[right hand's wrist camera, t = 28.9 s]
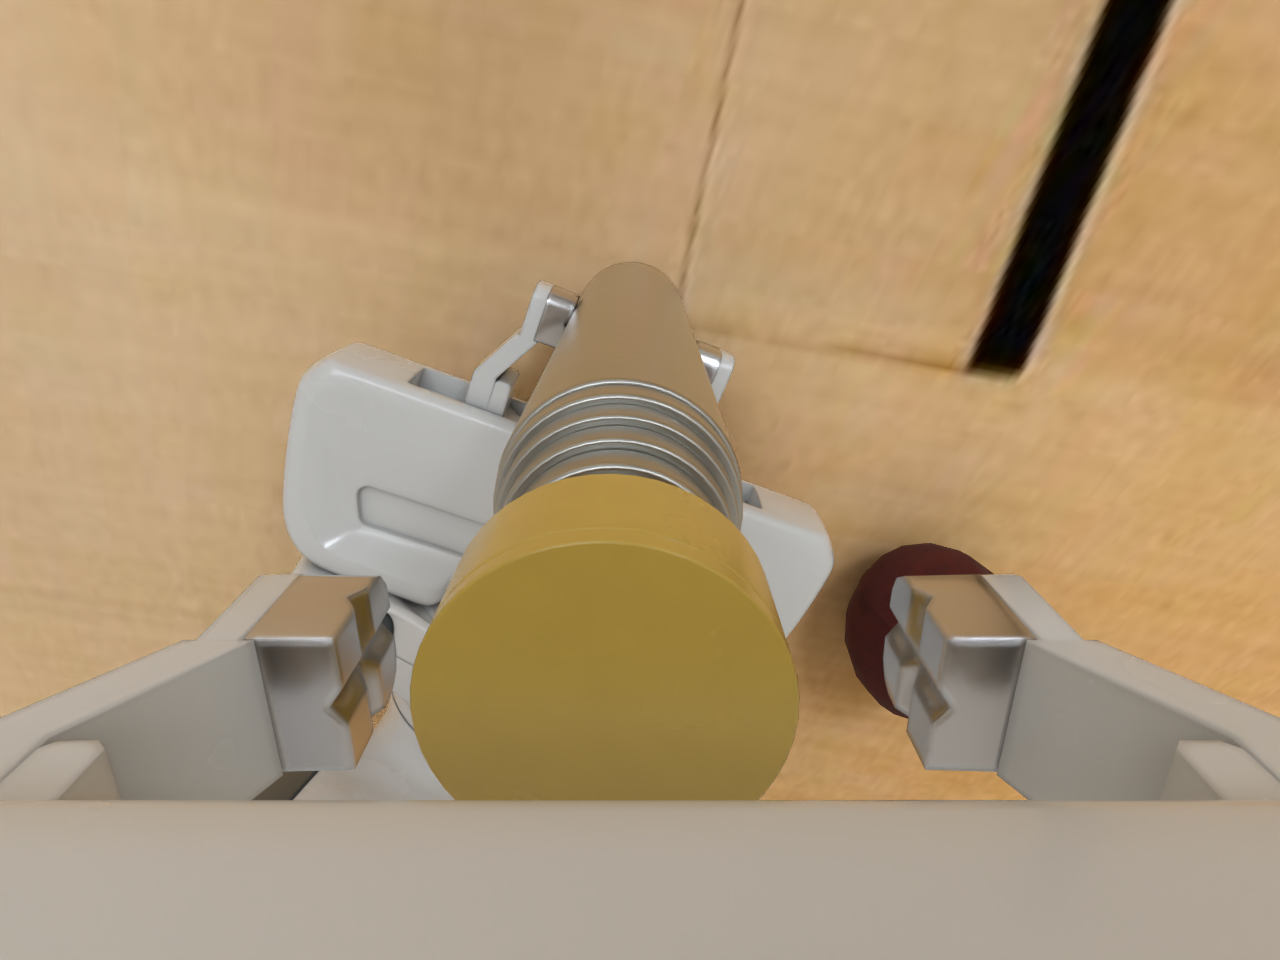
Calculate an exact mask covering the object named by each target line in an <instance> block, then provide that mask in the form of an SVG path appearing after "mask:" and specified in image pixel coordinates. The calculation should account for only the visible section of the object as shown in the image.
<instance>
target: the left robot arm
mask: <svg viewBox="0 0 1280 960" xmlns="http://www.w3.org/2000/svg"><path fill="white" fill-rule="evenodd" d="M579 297H580V295H578V294H576V293H573V292H571V291H568V290H566V289H563V288H561V287H558V286H556V285H554V284H551V283H548V282H545V281H543V280H541V281H540V282H539V283H538V284H537V286H536V289H535V291H534V293H533V296H532V299H531V302H530V305H529V308H528V311H527V314H526V317H525V320H524V323H523V326H522V327H521V328H519V329H518V330H517V331H516V332H515V333H514V334H513V335H511V336H510V337H509V338H508V339H507V340H506V341H504V342H503V343H502V344H501V345H500V346H499V347H498V348H496V349H495V350H494V351H493V352H492V353H491V354H489V355H488V356H487V357H486V358H485V359H484V360H483V361H482V362H481V364H480V365H479V366H478V367H477V368H476V369H475V370H474V373H473V376H472V379H471V381H468V380H465V379H462V378H459V377H457V376H454V375H451V374H448V373H446V372H443V371H440V370H437V369H434V368H432V367H429V366H426V365H423V364H421V363H418V362H415V361H412V360H409V359H407V358H404V357H401V356H398V355H396V354H393V353H390V352H387V351H384V350H382V349H379V348H376V347H374V346H371V345H368V344H365V343H352V344H349V345H347V346H345V347H343V348H340V349H338V350H336V351H334V352H332V353H330V354H328V355H326V356H324V357H323V358H322V359H320V360H319V361H317V362H316V363H314V364H313V365H312V366H311V367H310V368H308V369H307V371H306V372H305V373H304V375H303V376H302V378H301V380H300V382H299V384H298V387H297V391H296V395H295V399H294V404H293V409H292V414H291V420H290V426H289V433H288V440H287V448H286V457H285V468H284V484H283V514H284V521H285V525H286V528H287V531H288V534H289V536H290V538H291V540H292V542H293V544H294V545H295V547H296V548H297V549H298V551H299V552H300V553H301V554H302V555H303V556H302V558H301V559H300V560H299V562H298V563H297V565H296V566H295V568H294V570H293V572H292V573H291V574H303V575H360V576H381V577H382V579H383V580H384V581H385V583H386V584H387V590H388V596H389V602H390V608H389V610H388V612H387V613H386V615H385V617H384V619H383V620H382V623H383V624H384V625H385V627H386V628H387V629H388V630H389V631H390V632H391V633H392V634H393V635H394V636H395V644H396V652H397V666H396V676H395V681H394V686H393V691H392V694H391V696H390V700H389V704H388V707H387V710H386V712H385V714H384V715H383V717H382V719H381V720H380V722H379V723H378V724H377V725H376V727H375V728H374V729H373V730H374V732H373V734H372V736H371V738H370V740H369V742H368V744H367V746H366V748H365V750H364V752H363V754H362V756H361V758H360V760H359V762H358V764H357V766H356V768H355V770H325V771H289V772H283V776H281V777H280V778H279V779H278V780H276V781H275V782H274V783H273V784H271V785H270V786H269V787H268V788H266V789H265V790H264V791H262V792H261V793H260V794H259V795H257V796H256V797H255V798H254V799H252V800H454V799H453V797H452V796H451V795H450V794H449V793H448V792H447V791H446V790H445V789H444V788H443V786H442V785H441V784H440V782H439V781H438V779H437V778H436V777H435V775H434V774H433V772H432V771H431V769H430V767H429V766H428V764H427V762H426V760H425V758H424V756H423V754H422V752H421V750H420V747H419V744H418V741H417V738H416V735H415V732H414V727H413V722H412V716H411V711H410V684H411V677H412V669H413V665H414V662H415V659H416V655H417V652H418V649H419V646H420V644H421V642H422V640H423V638H424V636H425V634H426V632H427V629H428V627H429V625H430V623H431V621H432V619H433V617H434V615H435V612H436V610H437V608H438V606H439V604H440V602H441V600H442V598H443V596H444V593H445V591H446V589H447V587H448V585H449V583H450V581H451V579H452V577H453V574H454V572H455V570H456V568H457V566H458V564H459V562H460V560H461V558H462V556H463V554H464V552H465V550H466V548H467V547H468V545H469V544H470V542H471V541H472V539H473V538H474V537H475V535H476V534H477V532H478V531H479V530H480V529H481V528H482V527H483V526H484V525H485V524H486V523H487V522H488V520H489V519H490V518H491V517H492V516H494V514H493V495H494V490H495V484H496V478H497V472H498V467H499V463H500V460H501V457H502V454H503V451H504V449H505V447H506V445H507V443H508V441H509V439H510V437H511V435H512V433H513V431H514V429H515V427H516V425H517V423H518V421H519V419H520V417H521V415H522V413H523V411H524V409H525V407H526V405H527V403H528V402H526V401H523V400H520V399H518V398H515V397H513V394H514V391H515V388H516V385H517V381H518V378H519V375H520V374H519V372H518V370H515V369H513V368H510V366H511V365H512V364H513V363H515V362H516V361H517V360H518V359H519V358H520V357H521V356H523V355H524V354H525V353H526V352H527V351H528V350H530V349H531V348H532V347H533V346H534V345H535V344H536V343H537V342H540V343H543V344H545V345H548V346H551V347H554V348H556V346H557V344H558V342H559V340H560V338H561V336H562V334H563V332H564V330H565V328H566V326H567V324H568V322H569V320H570V318H571V316H572V314H573V312H574V310H575V308H576V306H577V303H578V300H579ZM695 340H696V339H695ZM696 343H697V346H698V349H699V352H700V354H701V357H702V360H703V363H704V366H705V369H706V372H707V375H708V377H709V380H710V383H711V386H712V389H713V392H714V395H715V398H716V400H717V403H719V401H720V399H721V396H722V394H723V392H724V389H725V387H726V385H727V382H728V380H729V378H730V375H731V373H732V371H733V367H734V363H735V358H734V356H733V354H732V353H730V352H728V351H725V350H722V349H720V348H718V347H715V346H712V345H709V344H707V343H704V342H701V341H698V340H696ZM741 481H742V499H743V519H742V525H741V531H740V532H741V533H742V534H743V535H744V537H745V538H746V539H747V541H748V542H749V544H750V545H751V547H752V548H753V550H754V551H755V553H756V555H757V556H758V559H759V561H760V563H761V565H762V567H763V570H764V572H765V574H766V578H767V581H768V584H769V587H770V590H771V593H772V596H773V600H774V603H775V606H776V609H777V612H778V615H779V618H780V622H781V625H782V628H783V631H784V634H785V637H786V638H787V637H788V636H789V634H790V633H791V632H792V631H793V629H794V628H795V627H796V625H797V624H798V622H799V621H800V620H801V618H802V617H803V615H804V614H805V613H806V611H807V610H808V608H809V607H810V605H811V604H812V602H813V601H814V599H815V598H816V596H817V595H818V593H819V591H820V590H821V588H822V587H823V585H824V583H825V582H826V580H827V578H828V576H829V575H830V573H831V570H832V568H833V565H834V552H833V548H832V544H831V541H830V538H829V535H828V533H827V530H826V528H825V526H824V524H823V522H822V521H821V519H820V517H819V515H818V514H817V512H816V511H815V509H814V508H813V507H812V506H811V505H809V504H808V503H805V502H803V501H800V500H798V499H795V498H792V497H789V496H786V495H784V494H781V493H778V492H775V491H773V490H770V489H767V488H764V487H761V486H759V485H756V484H753V483H750V482H748V481H745V480H742V479H741Z"/></svg>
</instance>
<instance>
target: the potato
mask: <svg viewBox="0 0 1280 960" xmlns="http://www.w3.org/2000/svg"><path fill="white" fill-rule="evenodd" d="M970 574H980V575H990V574H993V573H992V572H991V571H989V570H988V569H986V568H985V567H984V566H982V565H981V564H980V563H978V562H977V561H975V560H974V559H973V558H971V557H970V556H968V555H966V554H964V553H963V552H961V551H958V550H955V549H951V548H947V547H943V546H939V545H936V544H932V543H924V544H915V545H906V546H901V547H899V548H897V549H895V550H893V551H891V552H889V553H887V554H885V555H883V556H881V557H880V558H879V559H878V560H877V561H876V562H875V563H874V564H873V565H872V566H871V567H870V568H869V569H868V570H867V571H866V573H865V574H864V575H863V576H862V578H861V580H860V582H859V584H858V586H857V588H856V590H855V592H854V594H853V596H852V598H851V600H850V602H849V605H848V609H847V613H846V628H845V643H846V646H847V649H848V652H849V655H850V658H851V661H852V664H853V667H854V670H855V673H856V676H857V677H858V679H859V680H860V681H861V683H862V684H863V685H864V686H865V688H866V689H867V690H868V691H869V693H870V694H871V695H872V696H873V697H874V698H875V699H876V700H877V702H878V703H879V704H880V705H881V706H883V707H884V708H886V709H887V710H889V711H890V712H892V713H893V714H895V715H898V716H902V717H905V718H908V716H907V715H905V714H904V713H902V712H901V711H899V710H898V709H896V708H895V707H894V705H893V703H892V700H891V698H890V696H889V694H888V690H887V686H886V682H885V677H884V664H883V655H884V646H885V636H886V635H887V634H888V633H889V632H890V631H891V630H892V629H893V628H894V627H895V625H896V624H897V623H898V620H897V619H896V617H895V615H894V613H893V612H892V610H891V608H890V601H891V594H892V589H893V586H894V584H895V581H896V578H898V577H903V576H928V575H970Z"/></svg>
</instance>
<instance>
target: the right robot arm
mask: <svg viewBox="0 0 1280 960" xmlns="http://www.w3.org/2000/svg"><path fill="white" fill-rule="evenodd" d="M389 608H390V602H389V596H388V590H387V584H386V583H385V581H384V580H383V579H382V577H381V576H360V575H303V574H271V575H260V576H258V577H257V578H256V579H255V580H254V581H253V583H252V584H251V585H250V586H249V587H248V588H247V589H246V590H245V591H244V592H243V593H242V594H241V595H240V596H239V597H238V598H237V599H236V600H235V601H234V602H233V603H232V604H231V605H230V606H229V607H228V608H227V609H226V610H225V611H224V612H223V613H222V614H221V615H220V616H219V617H218V618H217V619H216V620H215V621H214V622H213V623H212V624H211V625H210V626H209V627H208V628H207V629H206V630H205V631H204V632H203V634H202V635H201V636H200V637H199V638H198V639H197V640H182V641H180V642H178V643H175V644H173V645H171V646H168V647H166V648H163V649H161V650H159V651H156V652H154V653H152V654H149V655H147V656H145V657H142V658H140V659H138V660H135V661H133V662H130V663H128V664H126V665H123V666H121V667H119V668H116V669H114V670H112V671H109V672H107V673H105V674H102V675H100V676H97V677H95V678H93V679H90V680H88V681H86V682H83V683H81V684H79V685H76V686H74V687H72V688H69V689H67V690H64V691H62V692H60V693H57V694H55V695H53V696H50V697H48V698H46V699H43V700H41V701H38V702H36V703H34V704H31V705H29V706H27V707H24V708H22V709H20V710H17V711H15V712H13V713H10V714H8V715H5V716H3V717H1V718H0V960H1280V718H1279V717H1276V716H1274V715H1272V714H1269V713H1267V712H1265V711H1262V710H1260V709H1258V708H1255V707H1253V706H1251V705H1248V704H1246V703H1243V702H1241V701H1239V700H1236V699H1234V698H1232V697H1229V696H1227V695H1225V694H1222V693H1220V692H1218V691H1215V690H1213V689H1211V688H1208V687H1206V686H1203V685H1201V684H1199V683H1196V682H1194V681H1192V680H1189V679H1187V678H1185V677H1182V676H1180V675H1178V674H1175V673H1173V672H1171V671H1168V670H1166V669H1164V668H1161V667H1159V666H1156V665H1154V664H1152V663H1149V662H1147V661H1145V660H1142V659H1140V658H1138V657H1135V656H1133V655H1131V654H1128V653H1126V652H1124V651H1121V650H1119V649H1117V648H1114V647H1112V646H1109V645H1107V644H1105V643H1102V642H1100V641H1098V640H1083V639H1082V638H1081V636H1080V635H1079V634H1078V633H1077V632H1076V631H1075V630H1074V629H1073V628H1072V627H1071V626H1070V625H1069V624H1068V623H1067V622H1066V621H1065V620H1064V619H1063V618H1062V617H1061V616H1060V615H1059V614H1058V613H1057V612H1056V611H1055V610H1054V609H1053V608H1052V607H1051V606H1050V605H1049V604H1048V603H1047V602H1046V601H1045V600H1044V599H1043V598H1042V597H1041V596H1040V595H1039V594H1038V592H1037V591H1036V590H1035V589H1034V588H1033V587H1032V586H1031V585H1030V584H1029V583H1028V582H1027V581H1026V580H1025V579H1024V578H1023V577H1022V576H1019V575H1016V574H1013V573H1012V574H990V575H980V574H970V575H928V576H903V577H898V578H896V581H895V584H894V586H893V589H892V594H891V601H890V608H891V610H892V612H893V613H894V615H895V617H896V619H897V620H898V623H897V624H896V625H895V627H894V628H893V629H892V630H891V631H890V632H889V633H888V634H887V635H886V636H885V646H884V655H883V664H884V677H885V682H886V686H887V690H888V694H889V696H890V698H891V700H892V703H893V705H894V707H895V708H896V709H898V710H899V711H901V712H902V713H904V714H905V715H907V716H908V724H907V730H906V732H907V734H908V736H909V738H910V740H911V742H912V744H913V746H914V748H915V750H916V752H917V754H918V756H919V758H920V760H921V762H922V764H923V766H924V768H925V770H953V771H990V772H997V775H998V776H999V777H1000V778H1001V779H1003V780H1004V781H1005V782H1006V783H1008V784H1009V785H1010V786H1012V787H1013V788H1014V789H1015V790H1017V791H1018V792H1019V793H1020V794H1022V795H1023V796H1024V797H1025V798H1027V799H1028V800H252V799H254V798H255V797H256V796H257V795H259V794H260V793H261V792H262V791H264V790H265V789H266V788H268V787H269V786H270V785H271V784H273V783H274V782H275V781H276V780H278V779H279V778H280V777H281V776H283V772H289V771H325V770H355V768H356V766H357V764H358V762H359V760H360V758H361V756H362V754H363V752H364V750H365V748H366V746H367V744H368V742H369V740H370V738H371V736H372V734H373V732H374V730H373V724H372V716H373V715H375V714H376V713H378V712H379V711H381V710H382V709H384V708H385V707H386V705H387V703H388V700H389V698H390V696H391V694H392V691H393V686H394V681H395V676H396V666H397V652H396V644H395V636H394V635H393V634H392V633H391V632H390V631H389V630H388V629H387V628H386V627H385V625H384V624H383V623H382V620H383V619H384V617H385V615H386V613H387V612H388V610H389Z"/></svg>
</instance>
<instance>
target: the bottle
mask: <svg viewBox="0 0 1280 960" xmlns="http://www.w3.org/2000/svg"><path fill="white" fill-rule="evenodd" d="M590 474H622V475H634V476H640V477H645V478H649V479H654V480H659V481H661V482H664V483H667V484H670V485H673V486H676V487H679V488H681V489H683V490H685V491H687V492H689V493H691V494H693V495H695V496H697V497H699V498H701V499H702V500H704V501H705V502H707V503H708V504H710V505H711V506H713V507H714V508H716V509H717V510H718V511H720V512H721V513H722V514H723V515H724V516H725V517H726V518H728V519H729V520H730V521H731V522H732V523H733V524H734V525H735V526H736V527H737V529H738V530H739V531H741V525H742V519H743V499H742V481H741V473H740V469H739V465H738V462H737V458H736V455H735V452H734V449H733V446H732V444H731V441H730V438H729V435H728V432H727V429H726V426H725V423H724V421H723V418H722V415H721V412H720V409H719V406H718V403H717V400H716V398H715V395H714V392H713V389H712V386H711V383H710V380H709V377H708V375H707V372H706V369H705V366H704V363H703V360H702V357H701V354H700V352H699V349H698V346H697V343H696V340H695V337H694V334H693V331H692V329H691V326H690V323H689V320H688V317H687V314H686V311H685V308H684V306H683V303H682V300H681V297H680V295H679V292H678V290H677V289H676V287H675V285H674V284H673V283H672V281H671V280H670V279H669V278H668V277H667V276H666V275H665V274H663V273H662V272H661V271H659V270H657V269H656V268H654V267H652V266H649V265H646V264H642V263H636V262H625V263H619V264H616V265H613V266H610V267H608V268H606V269H604V270H603V271H601V272H600V273H599V274H597V275H596V276H595V277H594V278H593V279H592V280H591V281H590V283H589V284H588V286H587V287H586V289H585V291H584V293H583V295H582V297H581V298H580V300H579V302H578V304H577V306H576V308H575V310H574V312H573V314H572V316H571V318H570V320H569V322H568V324H567V326H566V328H565V330H564V332H563V334H562V336H561V338H560V340H559V342H558V344H557V346H556V348H555V350H554V352H553V354H552V356H551V358H550V360H549V362H548V364H547V366H546V368H545V369H544V371H543V373H542V375H541V377H540V379H539V381H538V383H537V385H536V387H535V389H534V391H533V393H532V395H531V397H530V399H529V401H528V403H527V405H526V407H525V409H524V411H523V413H522V415H521V417H520V419H519V421H518V423H517V425H516V427H515V429H514V431H513V433H512V435H511V437H510V439H509V441H508V443H507V445H506V447H505V449H504V451H503V454H502V457H501V460H500V463H499V467H498V472H497V478H496V484H495V490H494V495H493V514H494V515H495V514H496V513H497V512H499V511H500V510H501V509H502V508H504V507H505V506H506V505H507V504H509V503H511V502H512V501H514V500H516V499H517V498H519V497H521V496H522V495H524V494H526V493H528V492H530V491H532V490H534V489H537V488H539V487H541V486H544V485H546V484H549V483H553V482H556V481H560V480H563V479H566V478H571V477H578V476H584V475H590Z"/></svg>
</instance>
